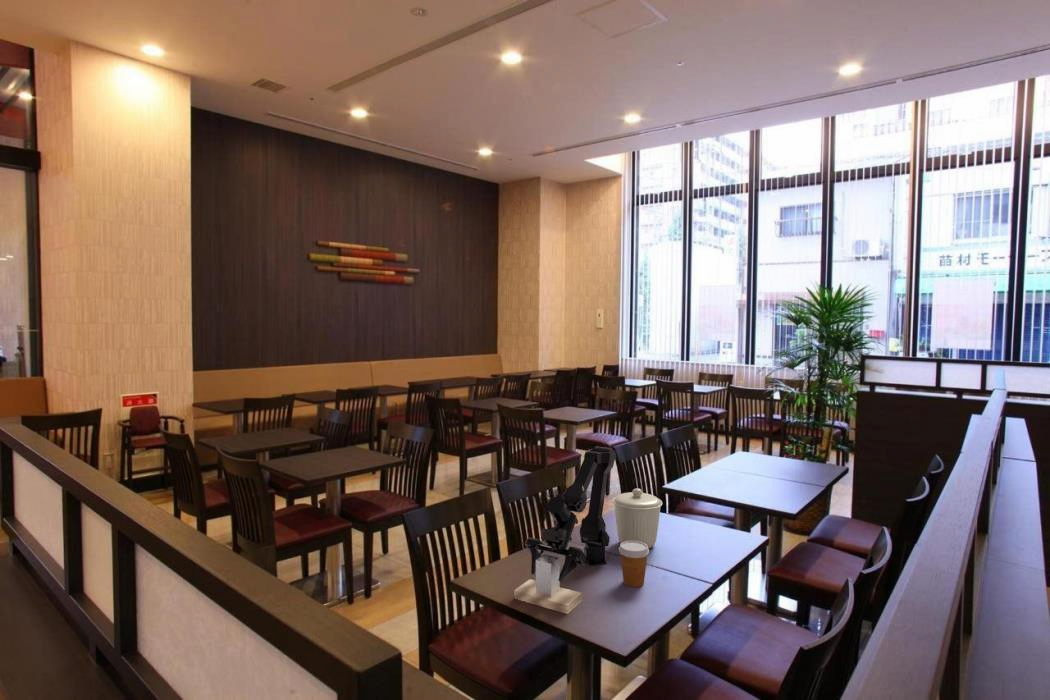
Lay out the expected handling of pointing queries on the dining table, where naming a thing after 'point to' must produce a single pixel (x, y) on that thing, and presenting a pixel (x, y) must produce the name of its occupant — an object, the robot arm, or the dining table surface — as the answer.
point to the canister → (637, 517)
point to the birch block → (558, 602)
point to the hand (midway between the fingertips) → (545, 577)
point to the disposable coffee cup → (633, 562)
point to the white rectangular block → (547, 575)
